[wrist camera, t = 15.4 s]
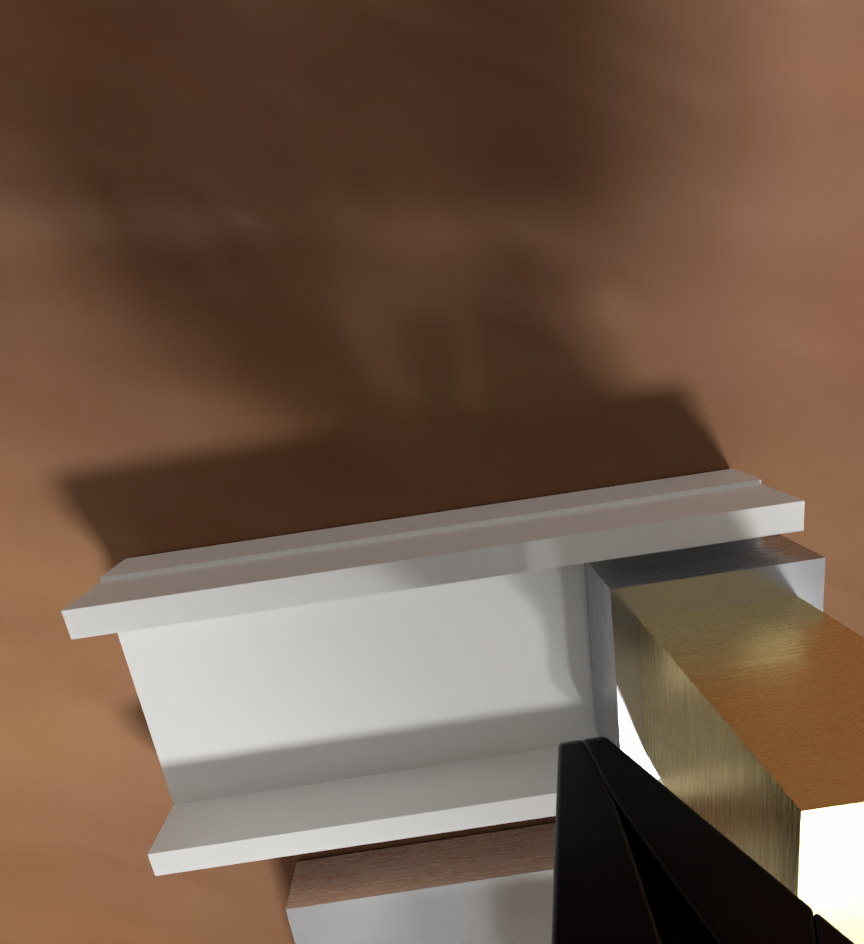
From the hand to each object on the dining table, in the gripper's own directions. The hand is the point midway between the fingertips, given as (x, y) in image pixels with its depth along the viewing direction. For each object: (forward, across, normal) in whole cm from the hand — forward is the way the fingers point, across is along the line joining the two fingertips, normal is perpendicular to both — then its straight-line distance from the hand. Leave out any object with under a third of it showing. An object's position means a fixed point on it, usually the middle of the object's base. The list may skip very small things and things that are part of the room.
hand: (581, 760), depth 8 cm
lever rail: (+4, +2, 0) cm, 4 cm away
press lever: (+3, -3, 0) cm, 4 cm away
